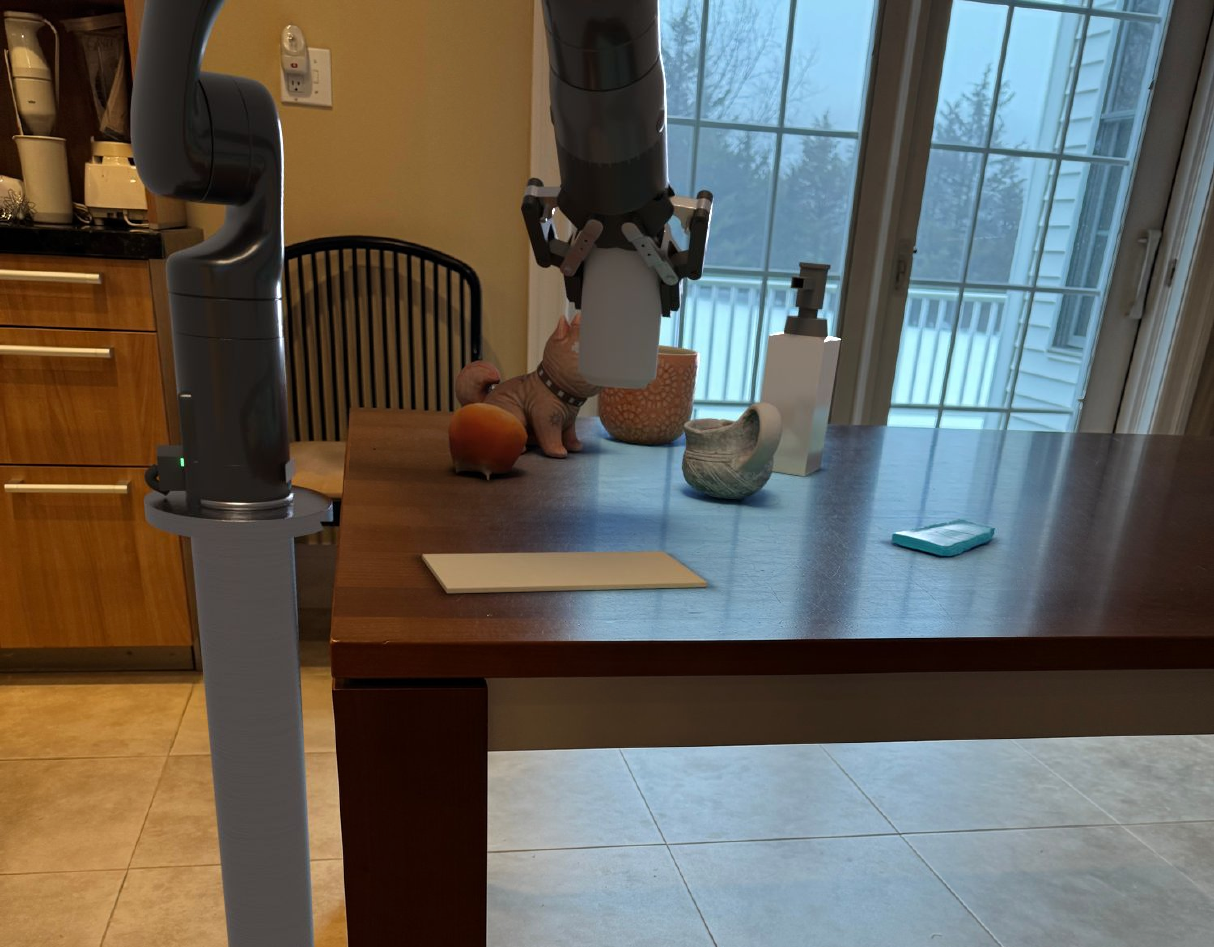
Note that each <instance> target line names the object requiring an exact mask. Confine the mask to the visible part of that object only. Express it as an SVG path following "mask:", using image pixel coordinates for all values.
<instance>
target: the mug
mask: <svg viewBox="0 0 1214 947" xmlns="http://www.w3.org/2000/svg"><path fill="white" fill-rule="evenodd" d="M683 427H684V431H685V432H684V436H685V449H684V452H683V455H682V460H681V471H682V476H683V478H684V480H685V482H686V483H687V484H688V485H689V486H690V487H691V488H693V489H694V490H695V491H697V492H699V493H702V494H705V495H707V496H710V497H713V498H718V499H727V500H728V499H729V500H745V499H746V498H749V497H752V496H754V495H755V494H757V493H758V492H760V491H761V490H762V489H763V488H764V487H765V485H767V483H768V481H769V480H770V479H771V476H772V474H773V471H772V469H773V463H774V459H773V458H774V457H773V455H774V454H775V452H776V450H777V447H778V445H779V442H780V439H781V433H782V419H781V414H780V412H779V410H778V409H777V408H776V407H775V406H773V405H771V404H769V403H760V402H756V403H753V404H752V405H750V406H749V407H747V409H745V411H744V412H743V413H742V414H741V415H740V416H739V418H737V420H732V419H731V420H730V419H726V418H721V419H719V418H713V417H712V418H710V417H709V418H708V417H706V418H695V419H691V420H690V421H688V422H687V423H685V425H684V426H683Z"/></svg>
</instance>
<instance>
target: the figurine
mask: <svg viewBox="0 0 1214 947" xmlns="http://www.w3.org/2000/svg"><path fill="white" fill-rule="evenodd" d="M580 317H581V312H578V313H576V314H575V315H574V316H573V319H572V320H571V322H569V321H568V319H567V317H566V315H565V314H562V315H560V317H559V319H558V321H557V325H556V328H555V330H554V331H553V332H552V333H551V335H549V337H548V339H547V341H546V342H545V346H544V347H543V352H542V359H541V361H540V362H539V364H538V365H537V366H536V369H535V370H533V371H532V372H529V373H525V374H521V375H516V376H514V377H511V378H508V379H506V380H504V381H502V382H501V374H500V371H499V370H498V368H497V367H496V366H495V365H493V364H492V363H491V362H488V361H486V360H474V361H472V362H469V363H468V364H467V365H465V366H464V367H463V368H462V369H461V370H460V372H459V373H458V374H457V377H456V380H455V384H454V385H455V386H454V392H455V397H456V399H457V402H458V403H459V405H460V406H461V408H463V407H464V406H466V405H469V404H476V403H485V404H489V405H493V406H497V407H500V408H501V409H503V410H505V411H507V412H509V413H511V414H513V415H514V416H515V417H516V418H517V419H518V420H519V421H520V422H521V423H522V426H523V427H524V428H525V430H526V433H527V436H528V438H527V441H526V444H528V445H532V446H533V445H534V446H536V445H537V446H539V447H541V449H542V451H543V452H544V454H545V455H546V456H549V457H551V458H560V459H561V458H562V459H563V458H566V457H567V455H568V451H571V452H580V451H581V450H582V449H583V444H582V442H581V441H580V440H579V439H578V436H577V434H576V433H577V432H576V420H577V417H578V416H579V413H580V410H581V407H582V406H584V405H585V403H586V402H587V401H588V399H589V398H594V397H595V396H597V395H598V393H600V392H601V391H602V390H603V389H604V386H597V385H592V384H588V383H586V381H585V379H584V378H583V377H582V376H581V375H580V374H579V373H578V371H577V369H578V352H579V335H580ZM493 386H494V387H493ZM492 387H493V388H492ZM526 450H527V447H526V445H525V446H524V449H523V451H522V452H521V454H524V453H526Z"/></svg>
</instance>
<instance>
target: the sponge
mask: <svg viewBox="0 0 1214 947" xmlns="http://www.w3.org/2000/svg"><path fill="white" fill-rule="evenodd" d="M995 531H996V528H995V527H992V526H988V525H986V524H985V525H984V524H980V523H976V522H972V521H969V520H966V519H954V520H951V521H949V522H941V523H934V524H932V525H927V526H923V527H916V528H911V529H907V530H904V531H903V530H900V531H897V532H893V533H892V534H891V543H893V544H897V545H899V546H903V547H906V548H910V549H913V550H918V551H922V552H926V553H930V554H934V555H937V556H941V557H943V556H945V557H952V556H957V555H961V554H962V553H963V552H965V551H969V550H971V548H974V547H977V546H979V545H983V544H985V543H986V544H987V543H988V542H989V541H991V540H992V538H993V537H994V535H995Z"/></svg>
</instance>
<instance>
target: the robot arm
mask: <svg viewBox="0 0 1214 947" xmlns="http://www.w3.org/2000/svg"><path fill="white" fill-rule="evenodd" d="M226 2H227V0H144V6H143V13H142V20H141V28H140V33H139V39H138V40H139V41H138V45H137V46H138V47H137V53H136V59H135V68H134V76H133V83H132V90H131V91H132V92H131V100H130V102H131V103H130V144H131V153H132V159H133V162H134V165H135V169H136V172H137V175H138V177H139V179H140V181H141V183H142V185H143V186H144V187H145V188H146V190H148V191H149V193H151V194H152V195H154V196H156V197H159V198H162V199H164V200H165V199H166V200H171V201H177V202H186V203H194V204H195V203H196V204H206V205H219V206H225V208H224V209H225V210H224V212H225V213H224V219H223V223H222V225H221V226H220V228H219V229H218V230H217V231H216V232H215V233H213V234H212V235H210V236H209V237H208V238H206V239H204V240H203V241H201V242H199V243H197V244H194V245H191V246H189V247H186V248H182V249H180V250H177V251H174V252H172V253H171V254H170V255H169V256H167V259H166V261H165V278H166V287H167V288H166V290H167V291H168V292H167V294H168V306H169V316H170V328H171V339H172V351H173V362H174V373H175V374H174V375H175V384H176V385H175V386H176V387H175V388H176V397H177V408H178V409H177V410H178V418H179V428H180V429H179V430H180V440H181V445H179V444H178V445H176V444H175V445H172V444H171V445H169V444H168V445H167V444H157V445H156V463H157V464H156V463H153V464H152V465H150V466H149V467H148V468H147V469H146V470H145V472H144V481H145V484H146V485H147V487H149V488H150V489H151V490H152V491H154V490H155V491H157V492H159V493H161V494H163V495H165V496H166V495H168V493H169V492H170V491H185V497H186V500H187V506H188V507H204V508H211V509H218V510H230V511H256V510H268V509H274V508H279V507H283V506H286V505H288V504H290V503H292V502H293V492H292V490H291V485H292V483H293V482H292V481H293V480H292V479H293V478H294V477H295V476H296V465H295V463H296V462H295V457H292V458H291V452H290V431H289V430H290V429H289V410H288V407H289V406H288V392H287V391H288V389H287V370H286V349H285V332H284V314H283V313H284V310H283V309H284V308H283V299H282V297H283V293H282V278H283V271H284V262H285V222H284V221H285V220H284V219H285V218H284V217H285V216H284V212H285V211H284V208H285V207H284V202H285V201H284V199H285V198H284V194H285V193H284V192H285V191H284V190H285V181H284V180H285V159H284V157H285V156H284V140H283V139H284V138H283V129H282V124H281V118H280V114H279V110H278V107H277V104H276V101H275V99H274V98H273V95H272V94H271V92H270V90H269V89H268V88H267V87H266V86H265V85H264V84H263V83H262V82H261V81H259V80H256V79H253V78H250V77H246V76H239V75H232V74H227V73H221V72H220V73H219V72H214V71H206V70H202V64H203V61H204V55H205V51H206V48H207V45H208V41H209V38H210V35H211V32H212V30H213V28H214V24H215V22H216V20H217V18H218V16H219V14H220V12H221V11H222V9H223V7H224V5H225V4H226ZM540 4H541V11H542V17H543V26H544V34H545V41H546V48H547V56H548V90H549V91H548V93H549V94H548V95H549V102H550V103H549V104H550V105H549V113H550V114H549V115H550V122H551V124H552V126H553V130H554V131H553V132H554V141H555V148H556V154H557V161H558V168H559V169H558V170H559V176H560V178H559V179H560V184H559V186H545V184H544V182H543V180H541V179H540V178H539V177H531V178H529V179H528V181H527V184H526V187H525V190H524V194H523V197H522V202H521V206H520V210H521V214H522V217H523V222H524V225H525V227H526V228H525V229H526V231H527V234H528V238H529V241H530V245H531V249H532V252H533V255H534V258H535V262H536V264H537V266H538V267H540V268H543V269H549V268H550V267H551V266H552V267H556V268H558V269H559V271H560V273H561V274H562V276H563V281H564V290H565V297H566V299H567V300H568V302H569V303H574V309H575V310H578V311H581V300H582V283H583V266H584V260H585V258H586V256H587V255H588V253H589V251H590V249H591V248H592V246H593V244H596V246H597V248H603V249H609V248H621V249H624V250H627V251H638V252H639V253H640V255H641V256H642V258H643V259H644V261H645V262H646V263H647V265H648V266H649V267H651V266H653V267H654V268H655V270H656V271H657V273H658V274H659V275H660V277H661V278H662V280H661V306H662V316H661V318H668V319H671V318H672V316H673V312H678V311H679V310H680V308H681V303H682V298H683V292H684V291H683V290H684V289H683V287H684V286H683V280H684V279H685V278H687V279H689V280H691V281H698V280H700V279H701V278H702V275H703V271H704V266H705V260H706V254H707V250H708V241H709V235H710V227H711V219H712V213H713V212H712V211H713V204H714V195H713V193H712V192H711V191H710V190H708V189H702V190H699V191H698V192H697V193H696V198H693V197H687V196H682V195H676V192H675V190H674V188H673V187H672V185H671V183H670V180H669V158H668V156H669V155H668V125H667V123H668V122H667V121H668V120H667V93H666V92H667V91H666V90H667V89H666V88H667V86H666V85H667V84H666V74H665V69H664V63H663V58H662V48H661V24H660V22H661V21H660V0H540ZM556 208H558V210H559V211H560V212H561V213H562V215H563V216H565V217H566V219H567V220H568V221H569V222H570V223H571V224H572V225H573V226H574V227H573V229H572V231H571V233H570V235H569V237H568V239H567V240H566V241H564V240H560V239H559V238H558V234H557V229H556V226H555V222H554V218H553V216H554V213H555V209H556ZM673 217H676V218H677V219H678V220H679V221H680V227H681V228H682V229H683V233H684V234H685V235H687V236H689V240H688V249H685V250H682V249H681V247H680V246H679V245H678V243H677V241H676V240H675V239H674V237H673V235H672V228H671V226H670V224H669V223H668V222H670V220H671V219H672V218H673Z"/></svg>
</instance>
